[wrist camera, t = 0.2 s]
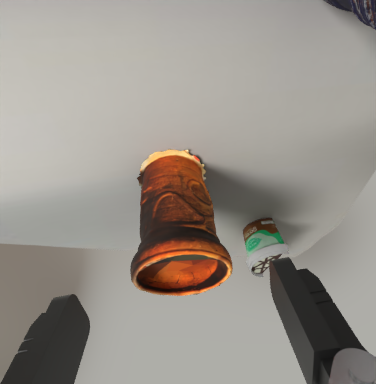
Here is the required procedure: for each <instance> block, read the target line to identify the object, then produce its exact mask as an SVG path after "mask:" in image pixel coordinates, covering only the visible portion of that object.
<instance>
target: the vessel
mask: <svg viewBox="0 0 376 384" xmlns="http://www.w3.org/2000/svg"><path fill="white" fill-rule="evenodd" d="M188 151H189V150H184V151H177V150H167V151H165V152H155V153H154V154H151V155H150V156H149V158H148V159H146V160H145V161H144V162H143V164H142V165H141V167H142V168H141V169H140V172H141V174H139V175H141V176H139V177H138V178H137V179H138V180H139V186H141V189H142V190H141V202H140V205H141V213H140V238H141V243H140V245H139V248H138V252H137V253H136V254H135V256H134V258H133V260H132V263H131V280H132V282H133V283H134V285H135V286H136V287H137V288H138V289H139V290H142V291H146V292H149V293H153V294H158V295H175V296H176V295H177V296H182V295H191V294H199V293H202V292H205V291H208V290H209V289H212V288H214V287H216V286H219V285H220V284H221V283H223V282H224V281H226V280H227V279H228V278H229V276H230V275H231V273H232V261H231V257H230V255H229V253H228V251H227V250H226V248H225V247H224V246H223V245H222V244H221V243H220V241H219V238H218V237H217V235H216V228H215V224H214V213H213V204H212V201H211V198H210V195H209V192H208V191H207V189H206V186H205V183H204V180H205V179H206V177H204V176H203V175H204V174H205V172H206V171H205V169H203V167H204V164H200V160H199V159H198V158H197V157H196V156H195V155H194V156H191V155H190V154H189V153H188Z"/></svg>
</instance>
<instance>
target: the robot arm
mask: <svg viewBox="0 0 376 384" xmlns="http://www.w3.org/2000/svg"><path fill="white" fill-rule="evenodd" d="M269 269H270V285H271V293H272V297H273V300H274V303H275V305H276V308H277V310H278V313H279V315H280V318H281V320H282V323H283V325H284V328H285V330H286V333H287V335H288V338H289V340H290V343H291V345H292V347H293V350H294V353H295V355H296V358H297V360H298V363H299V365H300V368H301V370H302V373H303V375H304V377H305V380H306V382H307V384H376V357H375V356H373V355H372V354H370V353H369V352H367V350H365V348H364V347H363V346H362V345H361V343H360V342H359V341H358V339H357V337H356V336H355V334H354V333H353V331H352V330H351V328H350V327H349V325H348V323H347V322H346V320H345V319H344V317H343V316H342V314H341V312H340V311H339V309H338V308H337V306H336V305H335V303H333V301H332V299H331V297H330V296H329V294H328V293H327V292H326V289H325V288H324V286H323V285H322V283H321V281H320V280H319V278H318V277H316V276H315V275H314V274H313V273H311V272H310V271H309V270H308V269H300V270H296V268H295V266H294V264H293V263H292V261H291V259H290V258H289V257H287V258H281V259H275V260H270V261H269ZM89 330H90V321H89V318H88V316H87V314H86V312H85V310H84V308H83V307H82V305H81V303H80V301H79V300H78V298H77V296H76V295H74V294H72V295H66V296H61V297H56V298H54V299H53V300H52V301H51V303H50V305H49V307H48V309H47V311H46V313H42V314H41V315H40V316H39V317H38V319H36V321H35V322H34V323H33V324H32V325H31V327H30V328H29V331H28V333H27V334H26V336H25V338H24V342H23V343H22V344H21V346H20V348H19V350H18V354H16V355H15V357H14V359H13V361H12V363H11V365H10V367H9V369H8V370H7V372H6V374H5V376H4V378H3V380H2V382H1V384H74V382H75V378H76V375H77V372H78V368H79V365H80V362H81V359H82V355H83V352H84V348H85V345H86V342H87V339H88V335H89Z"/></svg>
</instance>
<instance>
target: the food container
mask: <svg viewBox="0 0 376 384" xmlns="http://www.w3.org/2000/svg"><path fill="white" fill-rule="evenodd" d="M243 235H244V240H245V245H246V250H247V255H248V258H247V261H246V264H247V266H248V268H249V270H250V271H251V272H252V274H253V275H255V276H259V277H263V272H264V271H265V270H266V269H267V268H268V267H269V261H270V260H275V259H278V258H279V257H280V256H281V255H282V254H289V252H288V246H287V244H284V242H283V240H282V238H281V236H280V234H279V232H278V230H277V228H276V226H275V224H274V222H273V220H272V218H264V219H259V220H256V221H254V222H252V223H250V224H248V225H247V226H246V227H245V228H244V230H243Z"/></svg>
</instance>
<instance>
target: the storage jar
mask: <svg viewBox="0 0 376 384" xmlns="http://www.w3.org/2000/svg"><path fill="white" fill-rule="evenodd" d="M324 1H326V2H327V3H329V4H330V5H332V6H335V7H336V8H339V9H342V10H345V11H351V12H353V13H354V14H355V15H356V16H357V17H358V19H359V20H360V21H361V22H363V23H364V24H366V25H368V26H370V27H372V28H374V29H375V30H376V0H324Z"/></svg>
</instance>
